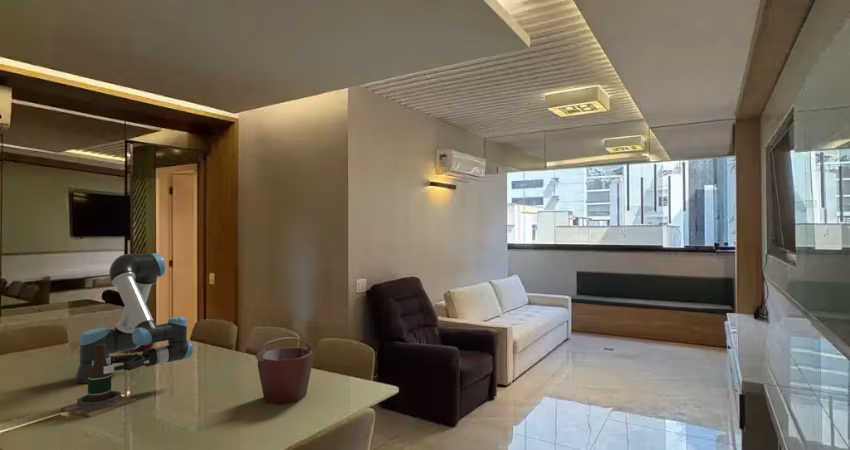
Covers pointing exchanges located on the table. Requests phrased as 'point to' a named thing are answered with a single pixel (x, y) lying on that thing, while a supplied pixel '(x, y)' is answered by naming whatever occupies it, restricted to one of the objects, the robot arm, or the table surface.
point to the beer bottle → (99, 377)
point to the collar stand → (97, 405)
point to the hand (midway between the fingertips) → (97, 367)
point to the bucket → (284, 372)
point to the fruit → (144, 347)
